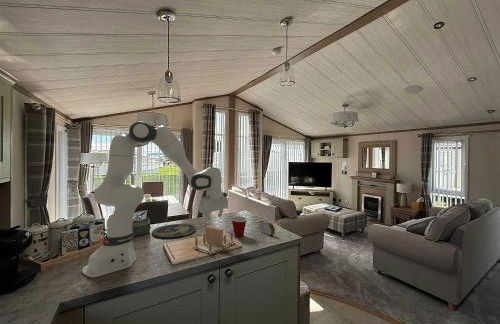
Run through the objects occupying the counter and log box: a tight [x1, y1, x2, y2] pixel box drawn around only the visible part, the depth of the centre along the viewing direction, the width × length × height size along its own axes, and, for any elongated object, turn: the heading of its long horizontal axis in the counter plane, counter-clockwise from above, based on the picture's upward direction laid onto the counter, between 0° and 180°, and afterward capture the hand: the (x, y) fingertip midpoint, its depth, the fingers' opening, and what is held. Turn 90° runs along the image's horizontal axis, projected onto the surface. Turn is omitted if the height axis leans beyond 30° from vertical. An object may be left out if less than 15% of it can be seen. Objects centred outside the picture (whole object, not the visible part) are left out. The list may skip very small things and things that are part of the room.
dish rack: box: [192, 231, 236, 255], centre depth 134 cm, size 20×15×6 cm
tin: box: [258, 219, 276, 237], centre depth 155 cm, size 15×3×8 cm, turn 34°
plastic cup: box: [230, 215, 248, 238], centre depth 150 cm, size 11×11×12 cm
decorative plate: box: [151, 223, 197, 240], centre depth 161 cm, size 30×2×30 cm
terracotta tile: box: [205, 225, 224, 246], centre depth 134 cm, size 2×12×9 cm, turn 54°
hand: (214, 218), depth 134 cm, fingers open, 8 cm apart
